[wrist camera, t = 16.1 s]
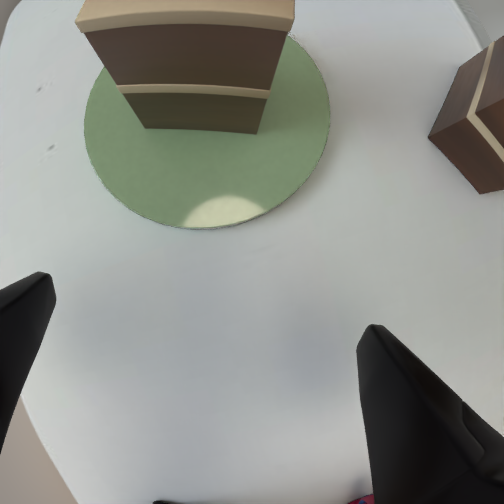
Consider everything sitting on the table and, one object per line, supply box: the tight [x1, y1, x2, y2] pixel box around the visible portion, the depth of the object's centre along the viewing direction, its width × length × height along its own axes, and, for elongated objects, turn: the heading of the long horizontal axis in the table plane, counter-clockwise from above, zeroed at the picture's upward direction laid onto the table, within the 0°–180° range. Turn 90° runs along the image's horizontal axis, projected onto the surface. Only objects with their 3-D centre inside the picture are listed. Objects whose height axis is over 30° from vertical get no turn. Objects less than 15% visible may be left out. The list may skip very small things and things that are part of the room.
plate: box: [84, 35, 330, 230], centre depth 17 cm, size 15×15×1 cm
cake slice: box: [75, 0, 295, 135], centre depth 11 cm, size 4×6×10 cm, turn 86°
